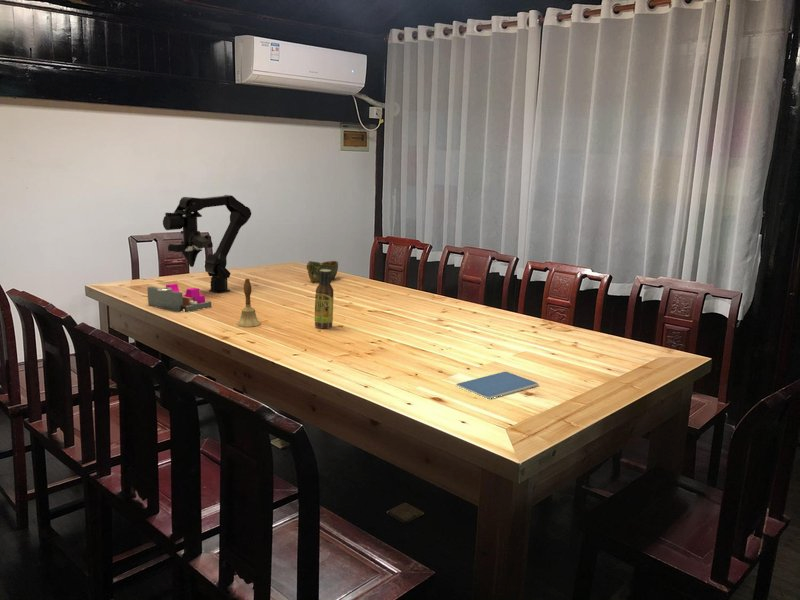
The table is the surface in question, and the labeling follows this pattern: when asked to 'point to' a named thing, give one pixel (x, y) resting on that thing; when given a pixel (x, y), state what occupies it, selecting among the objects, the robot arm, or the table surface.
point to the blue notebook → (497, 385)
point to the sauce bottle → (324, 300)
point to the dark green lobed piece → (316, 267)
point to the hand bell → (248, 309)
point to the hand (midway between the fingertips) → (191, 266)
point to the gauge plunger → (188, 301)
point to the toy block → (189, 293)
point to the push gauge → (171, 300)
